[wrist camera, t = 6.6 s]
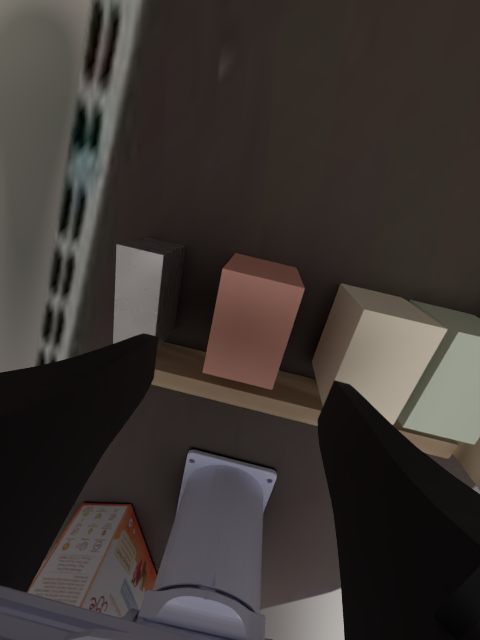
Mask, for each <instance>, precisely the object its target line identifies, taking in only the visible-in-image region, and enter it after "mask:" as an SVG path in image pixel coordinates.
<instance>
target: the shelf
mask: <svg viewBox="0 0 480 640" xmlns="http://www.w3.org/2000/svg"><path fill="white" fill-rule="evenodd" d="M205 357H206V352H203V351H199V350H195V349H191V348H187V347H183V346H179V345H175V344H171V343H167V342H163V343H162V344H161V346H160V347H159V348H158V349H157V354H156V363H155V372H154V379H153V381H152V383H151V384H152V385H156V386H160V387H164V388H168V389H172V390H176V391H180V392H184V393H188V394H192V395H196V396H200V397H204V398H208V399H212V400H216V401H220V402H224V403H228V404H232V405H236V406H240V407H244V408H248V409H252V410H256V411H260V412H264V413H268V414H272V415H276V416H280V417H284V418H288V419H292V420H296V421H300V422H304V423H308V424H312V425H316V426H318V417H319V415H320V413H321V410H322V408H323V405H322V401H321V397H320V393H319V389H318V385H317V381H316V379H312V378H308V377H304V376H300V375H296V374H292V373H288V372H284V371H280V370H278V373H277V377H276V380H275V383H274V386H273V389H272V390H270V389H266V388H262V387H258V386H254V385H250V384H246V383H242V382H238V381H234V380H230V379H226V378H222V377H218V376H214V375H210V374H206V373H203V367H204V362H205ZM392 425H393V424H392ZM393 426H394V427H395V428H396V429H397V430H398V431H399V432H401V433H402V434H403V435H404V436H405V437H406V438H407V439H408V440H410V441H411V442H412V443H413V444H414V445H415V446H416V447H418V448H419V449H420V450H421V451H422V452H424V453H428V454H432V455H436V456H440V457H444V458H447V459H449V458H450V456H451V455H452V453H453V454H454V456H455V457H456V458H457V460H458V461H459V462H460V464H461V465H462V467H463V468H464V469H465V471H466V472H467V473H468V475H469V476H470V477H471V479H472V480H473V481H474V483H475V484H476V486H477V487H478V488H479V490H480V438H479V439H478V440H477V442H476V443H475V444H474V445H473V444H469V443H465V442H461V441H457V440H453V439H449V438H445V437H441V436H437V435H432V434H428V433H424V432H420V431H416V430H412V429H408V428H404V427H402V425H401V423H400V422H399V420H398V418H397V420H396V421H395V423H394V425H393Z"/></svg>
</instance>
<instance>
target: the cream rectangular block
mask: <svg viewBox="0 0 480 640" xmlns="http://www.w3.org/2000/svg"><path fill="white" fill-rule="evenodd" d="M447 330H448V329H447V328H445V327H444V326H443V325H441V324H440V323H438V322H437V321H435V320H434V319H432V318H431V317H430V316H428V315H427V314H425V313H424V312H422V311H421V310H419V309H418V308H417V307H415V306H414V305H412V304H411V303H409V302H408V301H406V300H405V299H403V298H401V297H397V296H393V295H389V294H384V293H380V292H376V291H372V290H367V289H363V288H359V287H355V286H350V285H346V284H342V283H341V284H340V286H339V289H338V292H337V294H336V297H335V300H334V303H333V305H332V308H331V311H330V314H329V316H328V319H327V322H326V324H325V327H324V330H323V333H322V335H321V338H320V341H319V343H318V346H317V349H316V352H315V354H314V357H313V360H312V365H313V369H314V373H315V377H316V381H317V385H318V389H319V393H320V397H321V401H322V405H324V403H325V401H326V398H327V396H328V394H329V391H330V389H331V386H332V384H333V382H334V380H335V381H339V382H343V383H347V384H350V385H351V386H352V387H354V388H355V389H356V390H357V391H358V392H359V393H360V394H361V395H362V396H363V397H364V398H365V399H366V400H367V401H368V402H369V403H370V404H371V405H372V406H373V407H374V408H375V409H376V410H377V411H378V412H379V413H380V414H381V415H383V416H384V417H385V418H386V419H387V420H388V421H389V422H390V423H391V424H393V425H394V423H395V421H396V420H397V418H398V416H399V414H400V413H401V411H402V409H403V407H404V406H405V404H406V402H407V400H408V399H409V397H410V395H411V393H412V391H413V390H414V388H415V386H416V384H417V383H418V381H419V379H420V377H421V376H422V374H423V372H424V370H425V369H426V367H427V365H428V363H429V362H430V360H431V358H432V356H433V355H434V353H435V351H436V349H437V347H438V346H439V344H440V342H441V340H442V339H443V337H444V335H445V333H446V332H447Z"/></svg>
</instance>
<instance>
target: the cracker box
mask: <svg viewBox="0 0 480 640" xmlns="http://www.w3.org/2000/svg"><path fill="white" fill-rule="evenodd" d="M156 578H157V574H156V572H155V569H154V566H153V564H152V561H151V558H150V555H149V552H148V550H147V547H146V544H145V541H144V539H143V536H142V533H141V530H140V528H139V525H138V522H137V519H136V516H135V514H134V511H133V508H132V505H131V504H101V503H83V504H82V505H81V506H80V508H79V510H78V511H77V513H76V514H75V516H74V517H73V519H72V520H71V522H70V524H69V525H68V527H67V528H66V530H65V531H64V533H63V534H62V536H61V538H60V539H59V541H58V542H57V544H56V545H55V547H54V548H53V550H52V552H51V553H50V555H49V556H48V558H47V559H46V561H45V563H44V564H43V566H42V567H41V569H40V570H39V572H38V574H37V575H36V577H35V578H34V580H33V582H32V584H31V586H30V588H29V590H28V591H27V593H30V594H34V595H37V596H41V597H45V598H48V599H52V600H56V601H59V602H63V603H67V604H71V605H74V606H78V607H82V608H85V609H89V610H93V611H96V612H100V613H104V614H108V615H111V616H115V617H119V618H122V617H123V616H124V615H125V614H126V613H127V612H128V611H129V610H130V609H131V608H134V609H138V610H140V608H141V605H142V602H143V599H144V596H145V593H146V591H147V590H153V587H154V584H155V581H156Z"/></svg>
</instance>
